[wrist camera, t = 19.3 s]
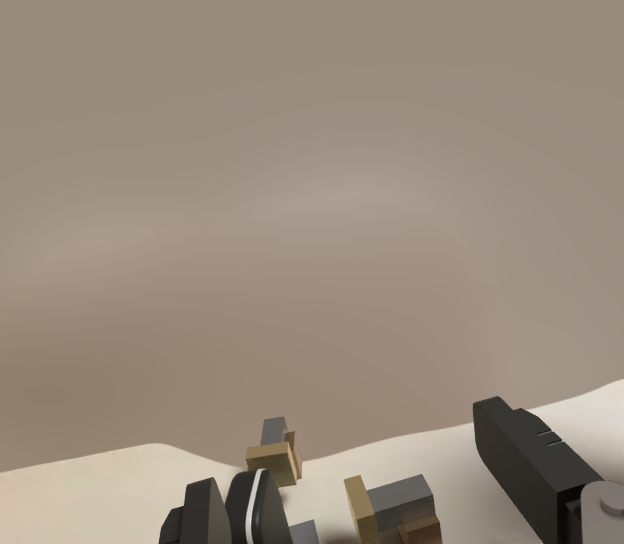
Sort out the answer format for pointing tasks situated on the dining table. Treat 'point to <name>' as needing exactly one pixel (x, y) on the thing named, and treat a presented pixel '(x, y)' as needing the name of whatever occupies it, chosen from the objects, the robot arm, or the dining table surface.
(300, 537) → the plate
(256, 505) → the battery charger
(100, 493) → the dining table surface
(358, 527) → the set of rectangular blocks
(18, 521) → the dining table surface
